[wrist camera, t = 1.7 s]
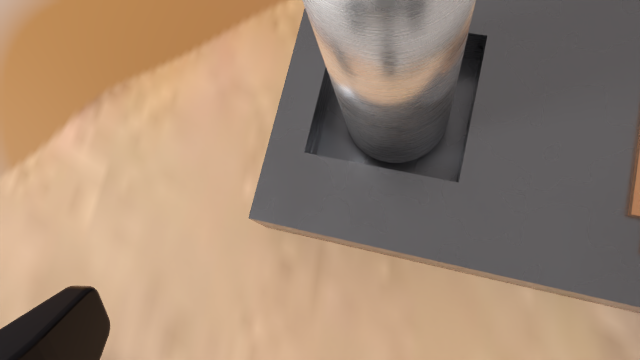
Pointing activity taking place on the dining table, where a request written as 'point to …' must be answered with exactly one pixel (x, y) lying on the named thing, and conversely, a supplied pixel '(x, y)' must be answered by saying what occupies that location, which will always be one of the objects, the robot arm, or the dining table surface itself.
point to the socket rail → (486, 157)
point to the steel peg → (393, 68)
